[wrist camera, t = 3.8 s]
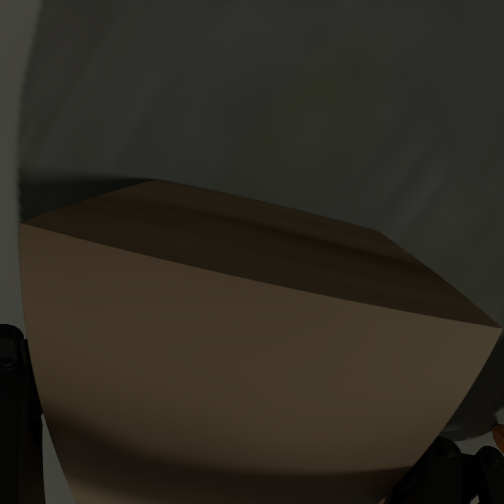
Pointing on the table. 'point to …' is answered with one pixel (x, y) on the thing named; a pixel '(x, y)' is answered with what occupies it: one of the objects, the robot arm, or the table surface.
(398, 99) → the table surface
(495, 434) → the toy rocket
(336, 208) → the table surface
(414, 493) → the robot arm
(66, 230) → the walnut brick
